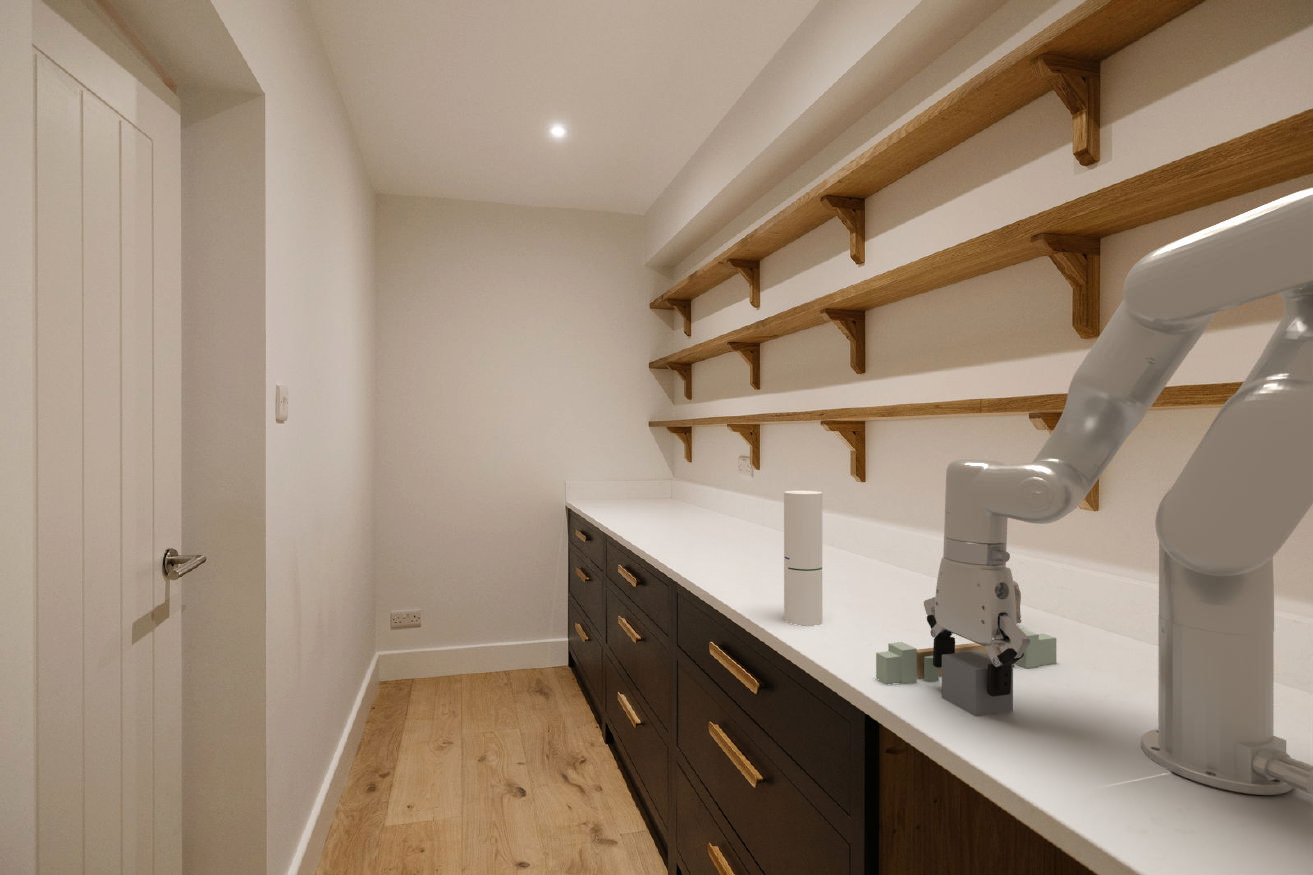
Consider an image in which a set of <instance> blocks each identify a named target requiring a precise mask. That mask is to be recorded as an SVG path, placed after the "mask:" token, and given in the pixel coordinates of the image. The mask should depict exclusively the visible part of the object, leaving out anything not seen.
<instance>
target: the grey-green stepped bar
mask: <svg viewBox="0 0 1313 875" xmlns="http://www.w3.org/2000/svg"><path fill="white" fill-rule="evenodd" d="M1020 629H1021V630H1022V631H1023V632H1024V633H1025V634H1026V635H1027V636H1028V637H1029V639H1030V644H1029V645H1028V647H1027V649H1026V650H1025V652H1024V656H1023V657H1022V658H1021V659H1019V660H1018V661H1017V663H1016V664H1015V665H1017V666H1019V667H1022V668H1024V669H1033V668H1039V666H1047V665H1055V664H1057V637H1055V636H1051V635H1049V634H1047V633H1035V632H1032V631H1029V630H1026V629H1023V628H1020ZM887 644H888V647H887V650H888V651H880V652H875V654H876V655H875V673H876V674H875V678H877V679H879V680H880V681H879V680H878V681H879V682H881V683H882V682H884V683H885V684H884V683H883V684H884V685H886V684H890V685H894V684H893V683H899V684H901V683H902V684H901V685H908V684H916V683H918V680H917V679H918V678H917V650H918V649H917V648H916V647H913V646H912V645H910V644H907V643H905V642H903V641H899V642H890V643H887ZM877 679H876V680H877ZM923 681H925V682H927V683H928V682H938V681H940V677H939V668H937V667H935V666H933V656H926V657H924V679H923Z"/></svg>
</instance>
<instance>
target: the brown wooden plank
mask: <svg viewBox="0 0 1313 875" xmlns="http://www.w3.org/2000/svg"><path fill="white" fill-rule="evenodd" d="M1009 645H1010V644H1009ZM996 648H997V650H998V652H999V654H1001V653H1002V651H1001V649H1000V647H999V646H996ZM971 651H979V652H982V653H984V654H987V655H989V654H988V652H987V650H986V648H985V646H983V645H980V644H977V643H975V642H971V643H962V644H955V653H962V652H971ZM926 656H933V647H928V648H920V649H919V648H918V649H917V679H918V680H924V657H926ZM1013 668H1015V665H1013ZM939 678H942V667H940V668H939Z"/></svg>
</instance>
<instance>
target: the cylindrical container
mask: <svg viewBox="0 0 1313 875" xmlns="http://www.w3.org/2000/svg"><path fill="white" fill-rule="evenodd" d="M783 556H784V557H783V603H784V604H783V610H784V611H783V614H784V615H783V620H784V622H785V621H787V622H788V623H787V622H786V623H787V624H789V623H792V624H791V625H793V624H797V625H796V626H798V625H801V626H800V627H815V626H814V625H817V626H820V625H822V624H823V492H821V491H817V490H816V491H815V490H787V491H784V492H783Z"/></svg>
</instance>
